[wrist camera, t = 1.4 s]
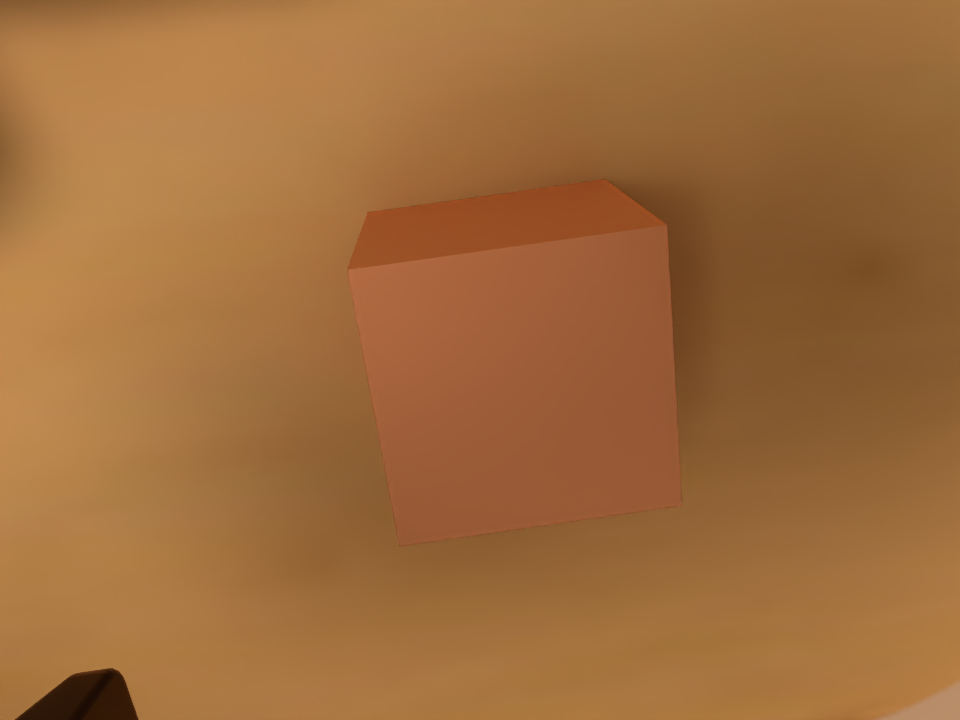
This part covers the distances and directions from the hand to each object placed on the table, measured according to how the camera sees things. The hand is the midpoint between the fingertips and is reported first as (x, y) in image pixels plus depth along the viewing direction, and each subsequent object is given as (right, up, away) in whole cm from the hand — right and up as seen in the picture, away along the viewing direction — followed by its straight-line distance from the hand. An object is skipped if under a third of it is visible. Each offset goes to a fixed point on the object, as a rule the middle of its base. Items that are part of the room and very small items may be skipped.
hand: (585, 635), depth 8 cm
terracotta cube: (-1, +4, +10) cm, 11 cm away
